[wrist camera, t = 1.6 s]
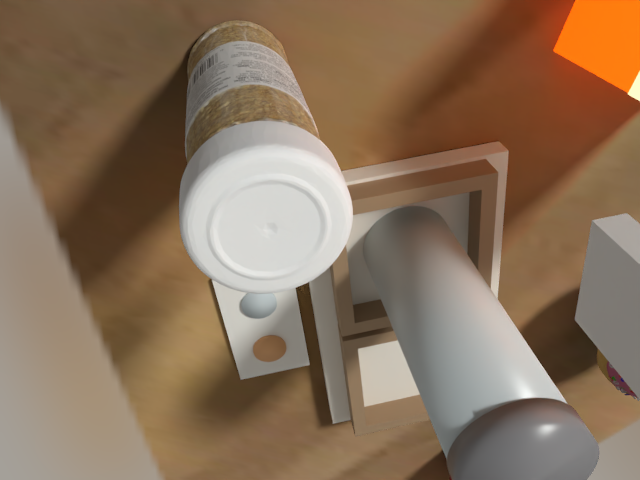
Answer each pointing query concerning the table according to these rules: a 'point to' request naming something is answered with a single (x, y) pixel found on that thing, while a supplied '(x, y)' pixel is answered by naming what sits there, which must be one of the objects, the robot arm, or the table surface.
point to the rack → (360, 291)
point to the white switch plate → (263, 330)
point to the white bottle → (471, 359)
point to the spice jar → (256, 168)
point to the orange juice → (605, 41)
